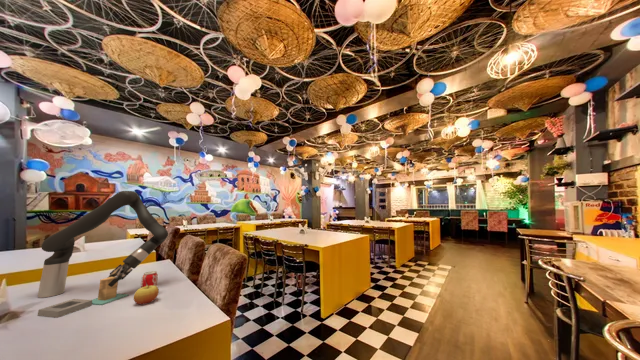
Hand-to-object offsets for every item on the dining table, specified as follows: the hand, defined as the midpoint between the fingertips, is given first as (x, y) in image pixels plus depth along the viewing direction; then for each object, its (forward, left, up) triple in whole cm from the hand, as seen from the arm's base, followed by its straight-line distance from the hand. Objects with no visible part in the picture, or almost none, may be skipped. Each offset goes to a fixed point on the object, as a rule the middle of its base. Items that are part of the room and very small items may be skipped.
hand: (106, 284), depth 111 cm
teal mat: (0, +1, -8) cm, 8 cm away
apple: (+25, +1, -8) cm, 26 cm away
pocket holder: (-5, -12, -8) cm, 15 cm away
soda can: (+17, +9, -8) cm, 21 cm away
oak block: (0, +1, -7) cm, 7 cm away
